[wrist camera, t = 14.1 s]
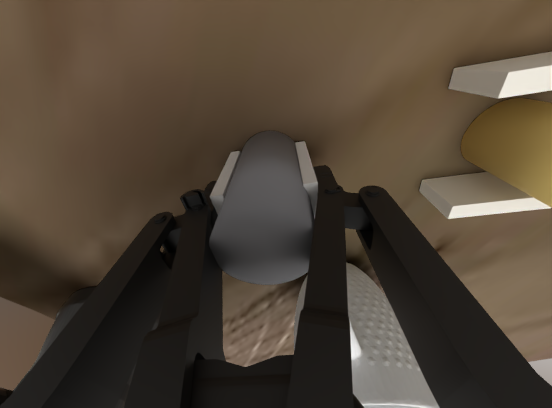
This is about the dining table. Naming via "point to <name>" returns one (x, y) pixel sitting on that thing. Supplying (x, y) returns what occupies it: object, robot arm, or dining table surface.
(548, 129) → the ochre plug
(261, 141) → the charcoal plug
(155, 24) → the dining table surface
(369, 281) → the mug
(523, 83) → the comb rack
